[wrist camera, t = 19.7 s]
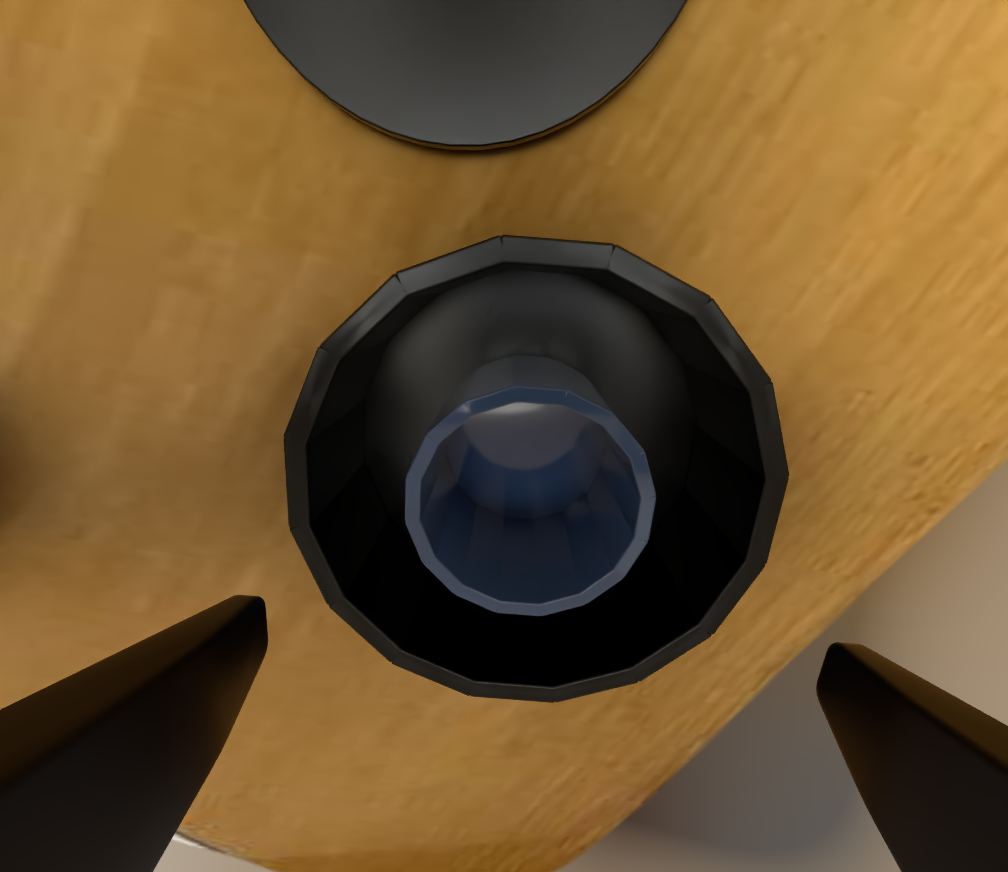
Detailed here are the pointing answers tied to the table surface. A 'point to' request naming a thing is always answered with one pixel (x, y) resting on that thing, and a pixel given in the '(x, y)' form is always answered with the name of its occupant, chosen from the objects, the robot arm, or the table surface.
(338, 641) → the table surface
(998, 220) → the table surface
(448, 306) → the pot
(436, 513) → the cup
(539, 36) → the lid
